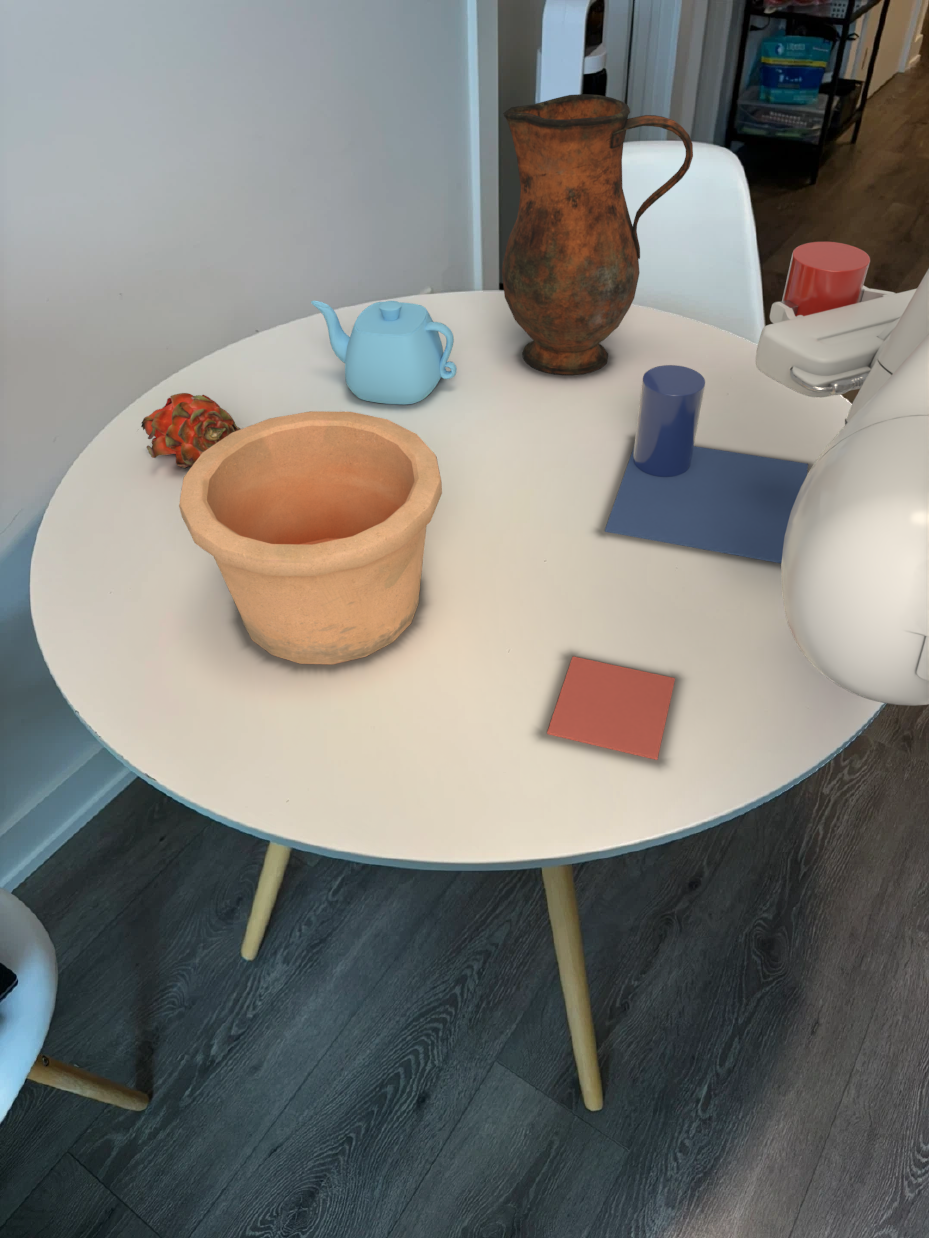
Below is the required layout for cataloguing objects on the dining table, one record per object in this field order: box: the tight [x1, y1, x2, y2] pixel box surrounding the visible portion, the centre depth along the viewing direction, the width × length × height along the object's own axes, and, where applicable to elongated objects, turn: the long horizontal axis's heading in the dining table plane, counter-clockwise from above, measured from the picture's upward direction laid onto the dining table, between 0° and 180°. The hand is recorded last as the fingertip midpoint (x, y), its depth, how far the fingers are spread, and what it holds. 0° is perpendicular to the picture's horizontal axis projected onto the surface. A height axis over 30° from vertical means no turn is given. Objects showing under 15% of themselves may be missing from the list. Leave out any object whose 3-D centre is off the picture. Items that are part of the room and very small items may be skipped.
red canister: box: [781, 241, 871, 317], centre depth 83 cm, size 6×6×10 cm
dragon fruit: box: [136, 392, 241, 469], centre depth 104 cm, size 8×8×12 cm
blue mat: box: [604, 445, 809, 564], centre depth 98 cm, size 19×18×1 cm
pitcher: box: [501, 93, 694, 376], centre depth 111 cm, size 17×21×30 cm
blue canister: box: [633, 364, 706, 477], centre depth 99 cm, size 6×6×10 cm
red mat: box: [546, 655, 676, 761], centre depth 77 cm, size 9×9×1 cm
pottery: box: [178, 410, 443, 665], centre depth 83 cm, size 22×22×14 cm
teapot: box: [310, 300, 458, 405], centre depth 114 cm, size 13×11×18 cm
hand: (813, 300), depth 83 cm, fingers closed on red canister, 6 cm apart
